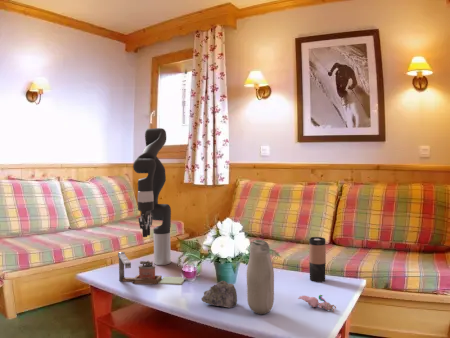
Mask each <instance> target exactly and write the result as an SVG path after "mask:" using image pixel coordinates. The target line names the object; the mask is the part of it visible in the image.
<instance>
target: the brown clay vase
mask: <svg viewBox="0 0 450 338" xmlns="http://www.w3.org/2000/svg"><path fill="white" fill-rule="evenodd" d="M246 290H247V291H246V298H247V300H246V301H247V304H248V307H249V309H250V310H251V311H252V312H254V313H255V314H259V315H265V314H268V313H270V311H271V310H272V308H273V306H274V302H275V271H274V266H273V262H272V259H271V254H270V246H269V243H268V242H267V241H265V240H262V239H255V240H253V241H252V242H251V243H250V246H249V257H248V263H247V268H246Z"/></svg>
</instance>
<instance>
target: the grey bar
mask: <svg viewBox="0 0 450 338" xmlns="http://www.w3.org/2000/svg"><path fill="white" fill-rule="evenodd" d="M117 257H118V258H119V257H120V259H121V260H122V262H123V263H124V270H125V269H131V268H132V267H131V266H132V263H131V261H130V259H129V258H128V256H127V255H126V254H125V251H119V252H117Z"/></svg>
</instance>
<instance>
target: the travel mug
mask: <svg viewBox="0 0 450 338" xmlns="http://www.w3.org/2000/svg"><path fill="white" fill-rule="evenodd" d="M308 241H309V245H308V247H309V252H308V253H309V256H308V257H309V260H308V261H309V263H308V264H309V267H308V268H309V280H310V281H311V282H313V283H323V282H322V281H324V282H325V281H326V268H327V267H326V264H327V261H326V260H327V259H326V258H327V257H326V256H327V255H326V253H327V252H326V251H327V250H326V249H327V248H326V238H325V237H322V236H321V237H320V236H313V237H310V238H309V239H308Z"/></svg>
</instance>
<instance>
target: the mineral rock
mask: <svg viewBox="0 0 450 338" xmlns="http://www.w3.org/2000/svg"><path fill="white" fill-rule="evenodd" d="M237 295H238V294H237V290H236V287H235V285H234V284H233V283H228V282H227V281H225V280H221V281H219V282H217V283H216V284H214V285H212V286H210V288H209V289H208V290H207V289H206V290H205V291H204V292H203V296H202V297H201V301H202V302H203V303H205V304H207V305H211V306H216V307H219V306H220V307H225V308H228V309H230V308H234V307H235V306H237V303H238V296H237Z"/></svg>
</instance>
